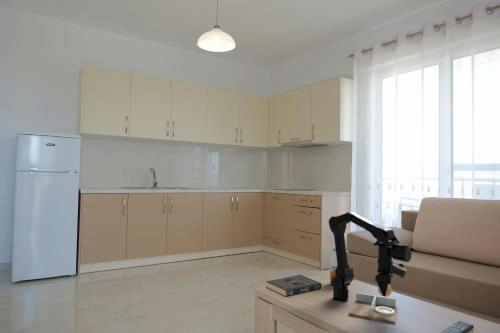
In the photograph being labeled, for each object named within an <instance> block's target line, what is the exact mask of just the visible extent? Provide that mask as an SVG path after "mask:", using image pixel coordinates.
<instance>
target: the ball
mask: <svg viewBox="0 0 500 333" xmlns="http://www.w3.org/2000/svg"><path fill="white" fill-rule="evenodd" d="M392 290H393V289H392V287H391V284H389V285H388V287H387V291H386V296H383V295H382V293H381V290H380V288H379V286H377V292H378V293H379V296H381V297H389V296H391V295H392Z"/></svg>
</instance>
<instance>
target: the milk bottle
mask: <svg viewBox="0 0 500 333" xmlns="http://www.w3.org/2000/svg"><path fill="white" fill-rule="evenodd" d="M332 252H333V253H332V256H331V258H330V261H329V262H330V263H329V284H330V285H331V283H330V282H331V281H332V280H333V279H334V278H335V271H336V268H337V257H336V249H335V246H334V247H333V248H332Z"/></svg>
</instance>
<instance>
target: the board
mask: <svg viewBox="0 0 500 333" xmlns="http://www.w3.org/2000/svg"><path fill="white" fill-rule="evenodd" d="M396 302H397V299H396V298H393V297H389V296H387V297H384V296H382V295H374V294H368V293H360V292H356V293H355V299H354V301H353V304H352V306H351V308H350V310H349V312H348V316H349V317H354V318H355V317H356V318H360V319H361V318H362V319H365V320H371V321H377V322H382V323H383V322H384V323H387V324H394V325H396V319H397V313H398V312H397V311H398V307H397V304H396Z"/></svg>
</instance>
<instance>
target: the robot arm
mask: <svg viewBox="0 0 500 333" xmlns="http://www.w3.org/2000/svg"><path fill="white" fill-rule="evenodd" d="M349 223H353V224H354V225H356V226H358V227H359V228H362V229H363V230H365V231H367V232H369V233H370V234H371V235H372V237H373V238H375V239H376V241H375V242H374V243H373V244H372V245H373V246H376V247H377V270H376V272H377V273H376V274H375V277H374V281H375V282H376V283H377V285H378V286H379V288H380V290H381V293H382V295H383V296H382V295H381V296H382V297H384V296H386V291H387V287H388V285H391V284H392V283H393V282H392V281H393V276H394V275H393V274H395V275H396V276H398V277H400V278H402V279H404V278H405V276H406V274H407V272H408V271H407V270H408V269H407V268H406V267H405V266H404V265H405V264H404V263H402V262H405V263H409V262H410V261H411V260H412V253H413V252H412V251H411V249H410V245H409V244H401V243H400V241H399V240H398V238H397V237H396V234H395V232H394V229H392V228H391V227H388V226H385V225H381V224H377V223H375V222H373V221H370V219H367V218H365V217H363V216H361V215H360V214H358V213H357V212H355V211H347V212H344V213H343V214H341V215H334V216H331V217H329V219H328V226H329V230H330V231H331V233H332V234H333V238H334V239H333V240H334V247H335V249H336V257H337V268H336V271H335V278H334V279H333V280H332V281H331V282H330V281H329V284H330V283H331V284H330V286H331V287H333V289H332V290H333V294H332V295H333V296H332V300H334V301H339V302H347V301H348V300H349V298H350V289H349V288H348V287H349V286H351V284H352V282H353V281H354V277H355V274H354V268H353V267H350V265H349V262H348V255H347V246H346V240H345V232H346V230H347V224H349ZM394 260H396V261H400V262H399V263H398V264H397V263H394ZM378 286H377V287H378Z"/></svg>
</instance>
